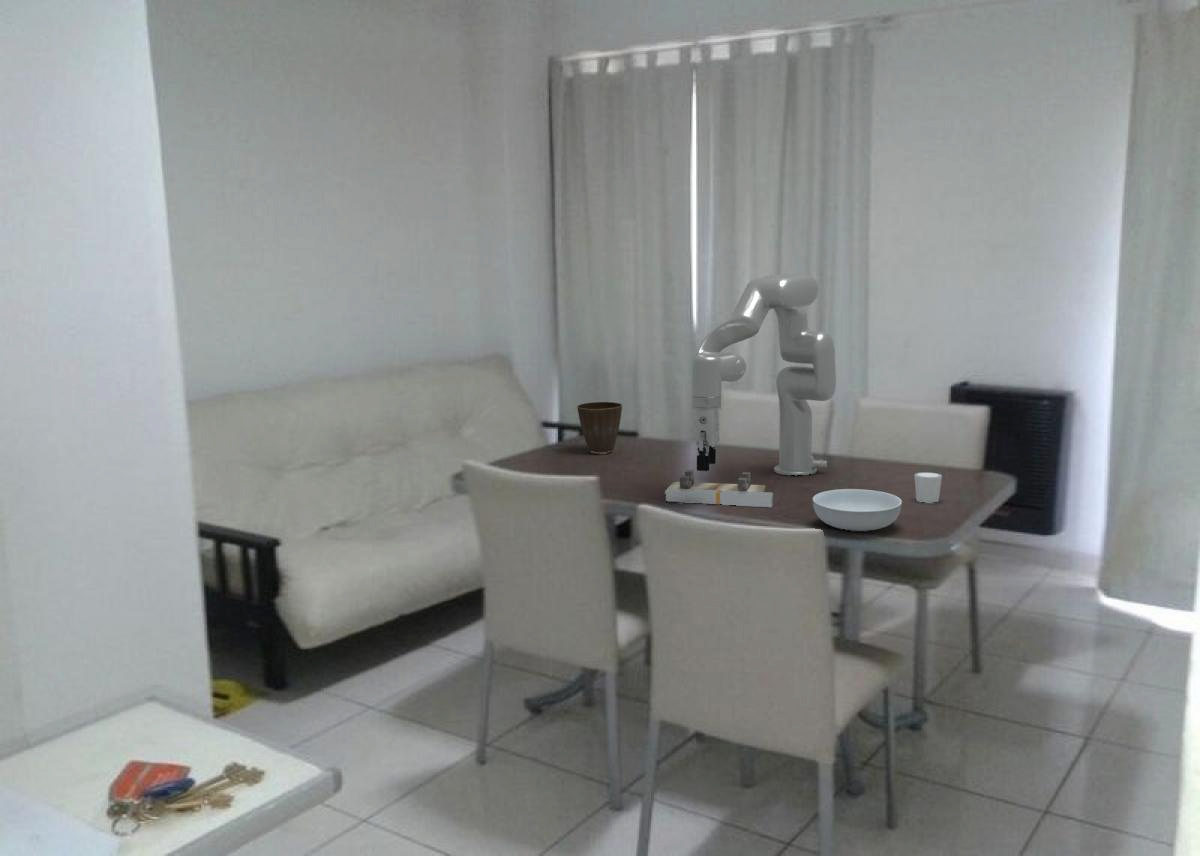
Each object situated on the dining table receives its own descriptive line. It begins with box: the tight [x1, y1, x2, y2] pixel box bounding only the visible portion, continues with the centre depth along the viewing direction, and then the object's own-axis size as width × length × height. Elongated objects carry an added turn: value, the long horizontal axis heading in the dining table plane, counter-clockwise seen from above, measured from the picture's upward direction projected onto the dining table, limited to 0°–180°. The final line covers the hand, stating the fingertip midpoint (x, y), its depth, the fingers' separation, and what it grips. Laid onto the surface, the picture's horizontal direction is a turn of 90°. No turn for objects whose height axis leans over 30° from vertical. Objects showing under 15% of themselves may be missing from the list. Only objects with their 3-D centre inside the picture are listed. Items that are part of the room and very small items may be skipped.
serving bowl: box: [812, 488, 903, 532], centre depth 247 cm, size 21×21×7 cm
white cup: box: [914, 471, 943, 504], centre depth 270 cm, size 7×7×7 cm
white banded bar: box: [665, 487, 774, 508], centre depth 272 cm, size 28×3×3 cm, turn 74°
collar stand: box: [664, 469, 766, 495], centre depth 284 cm, size 26×12×5 cm, turn 74°
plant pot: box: [576, 401, 623, 452], centre depth 343 cm, size 15×15×16 cm
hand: (706, 467), depth 271 cm, fingers open, 9 cm apart
